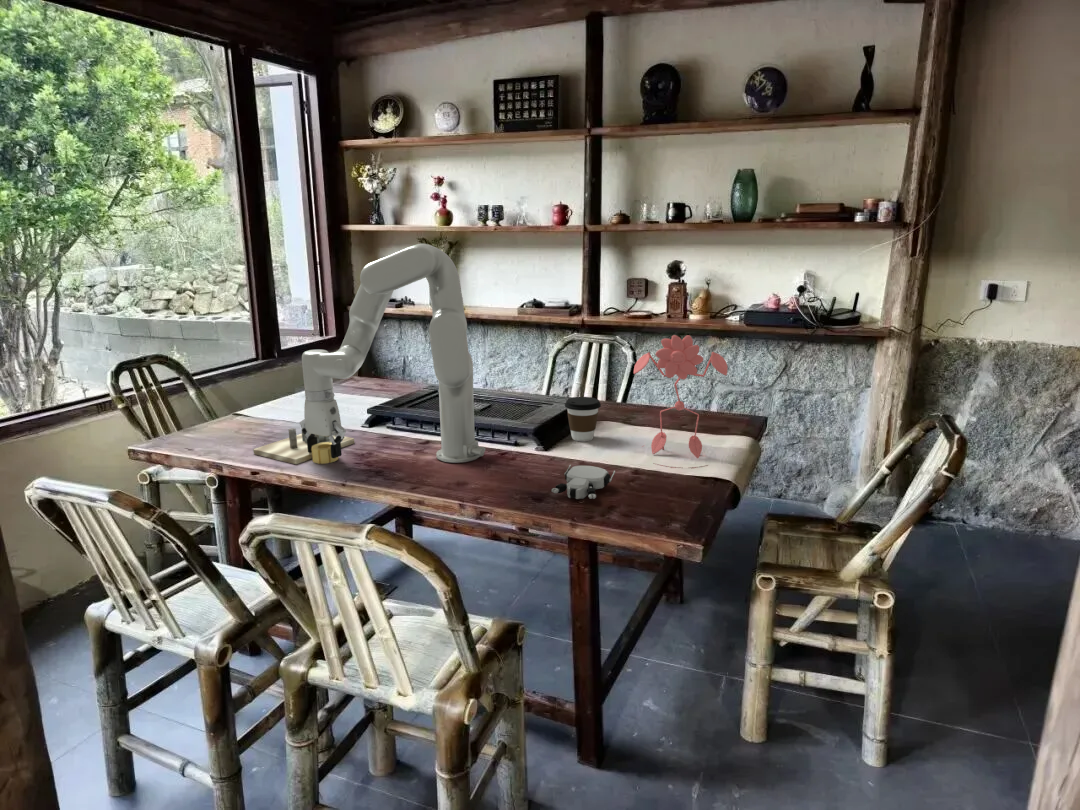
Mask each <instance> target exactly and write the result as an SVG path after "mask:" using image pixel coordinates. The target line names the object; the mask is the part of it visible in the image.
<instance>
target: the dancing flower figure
mask: <svg viewBox="0 0 1080 810" xmlns="http://www.w3.org/2000/svg"><path fill="white" fill-rule="evenodd" d="M660 342H661V343H660V344H661V345H662V347H663V348H659V349H657V350H656V352H655V357H656V358H658V360H657V362H656V361H655V359H654V358H653V357H652V356H653V355H651V352H650V351H649V352H647V353H643V355H642V356H640V357H639V358H638V360H637V361H636V362H635V364H634V366H633V367H634V368H633V375H637V374H638V373H639V372H640V371H642V370H643V369H644V368H645V367H646V366H648V363H649V362H650V360H651V361H652V362H653V364H654V366H656V367H655V368H657V370H658V371H659V373H661V375H662V376H663V378H664V377H667V379H672V378H674V376H675V375H676V376H677V377H678V378H677V379H676V380H675V382H674V385H673V386H674V388H675V389H674V390H675V393H676V397H677V401H675V403H674V406H672V407H669V408H666V409H662V410H660V411H659V420H660V422H659V423H660V432H658V433H657V434H656V435H655V436H654V437H653V439H652V442H651V445H650V447H651V454H652V455H655V454H657V453H659V452H661V450H662V451H664V450H665V445H666V442H667V434H666V433H665V432H664V431H663V423H662V422H663V420H662V413H663V412H666V411H668V410H672V409H675V410H677V411H683V410H686V411H687V412H690V413H693V414H695V415H697V419H696V423H695V424H696V425H695V429H694V434H693V435H691V436H689V438H688V448H689V451H690V453H692V455H693V456H694V457H695V458H696V459H700V456H701V454H702V451H703V444H702V441H701V439H700V438H699V437H698V436H697V432H698V424H699V419H700V414H699V413H697V412H695V411H692V410H691V409H689V408H687V407H685V403H684V401H682V400H680V395H679V390H678V386H677V385H678V383H679V381H680V380H687V377H688V375H690V376H697V377H701V378H704V377H705V375H706V374H707V372H708V369H709V366H710V364H711V365H712V367H713V368H714V369H715V370H716V371H717V372H718V373H720V374H722V375H723V376H727V374H728V364H727V361H726V359H725V358H724V357H723V356H722V355H720V354H719V353H717V352H715V351H712V352H711V355H710V357H709V360H708V362H707V365H706V367H705V370H704V371H703V374H700V373H698V368H697V367H696V366H698V365H700V364H701V363H703V361H704V357H703V355H702V356H701V355H700V354H699V351H700V346H699V345H698V344H693V343H694V340H693V338H692V336H691V335H690V334H689V335H687V334H686V335H685V336H684V337H683V339H682V338H681V337H680V336H678V335H677V334H676V335H675V334H673V335H672V336H671V339H670V338H666V337H665V338H662V339H661V341H660ZM662 369H664V372H663V371H662ZM643 447H644V445H642V446H641V448H643ZM652 464H654V465H657V466H661V467H662V466H663V467H664V465H661V464H658V463H654V462H653V463H652ZM708 466H709V464H706V465H705V467H708ZM665 467H666V468H670V469H680V468H681V469H682V467H681V466H680V467H679V466H678V467H676V466H667V465H665ZM703 467H704V465H701V466H699V468H703ZM697 468H698V466H692V467H689V469H697Z"/></svg>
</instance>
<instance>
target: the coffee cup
mask: <svg viewBox="0 0 1080 810" xmlns="http://www.w3.org/2000/svg"><path fill="white" fill-rule="evenodd" d="M601 405H602V404H601V402H600V399H598V398H595V397H591V396H574V397H570V398H568V399H566V401H565V402H564V407H565V408H566V410H567V412H566V413H567V418H568V425H569V430H570V434H571V438H572V440H574V441H576V442H590V441H592V440H593V439H594V436H595V431H596V429H597V427H596V426H597V422H598V417H599V409H600V408H601Z"/></svg>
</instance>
